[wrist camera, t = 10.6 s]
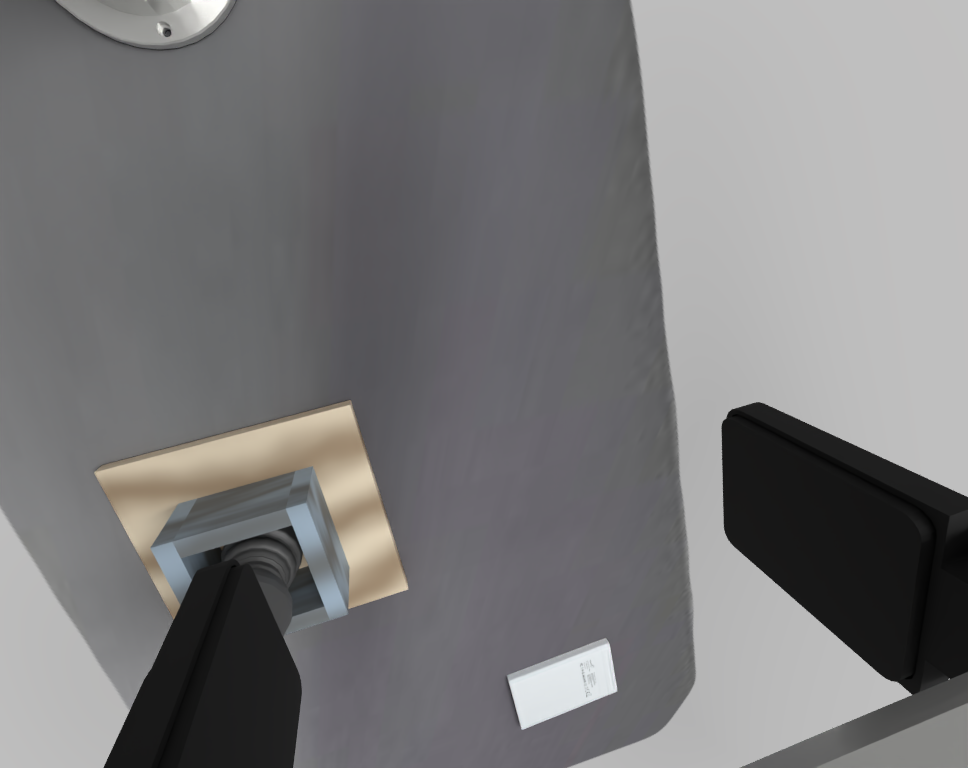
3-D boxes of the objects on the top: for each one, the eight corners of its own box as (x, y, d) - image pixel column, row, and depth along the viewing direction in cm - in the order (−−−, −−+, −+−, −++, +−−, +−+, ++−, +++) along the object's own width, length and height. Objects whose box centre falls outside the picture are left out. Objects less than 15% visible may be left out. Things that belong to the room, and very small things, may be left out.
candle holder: (257, 577, 45) (149, 957, 22) (214, 527, 43) (43, 894, 19) (319, 543, 45) (279, 881, 22) (280, 492, 43) (189, 810, 20)
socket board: (101, 465, 40) (50, 514, 33) (350, 399, 43) (348, 433, 36) (199, 648, 47) (172, 719, 40) (407, 580, 50) (414, 636, 43)
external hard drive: (505, 670, 58) (604, 633, 60) (518, 719, 61) (612, 682, 62) (508, 682, 56) (610, 644, 58) (522, 732, 59) (618, 694, 61)
